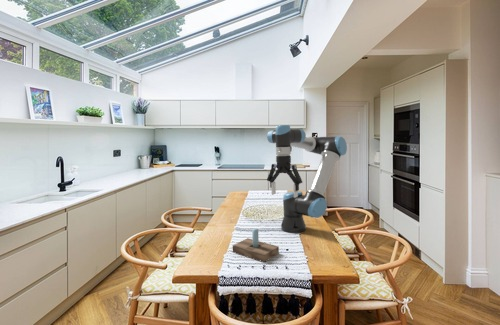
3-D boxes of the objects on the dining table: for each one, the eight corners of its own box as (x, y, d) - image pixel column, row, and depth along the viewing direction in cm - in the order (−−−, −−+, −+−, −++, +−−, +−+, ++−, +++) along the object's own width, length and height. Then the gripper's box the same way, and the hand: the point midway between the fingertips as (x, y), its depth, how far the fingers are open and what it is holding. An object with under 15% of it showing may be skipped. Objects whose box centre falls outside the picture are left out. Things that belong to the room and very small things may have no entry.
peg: (255, 251, 141) (254, 228, 140) (260, 252, 139) (259, 229, 138) (251, 253, 139) (250, 229, 138) (256, 254, 137) (255, 230, 136)
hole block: (247, 244, 150) (247, 238, 150) (278, 253, 137) (278, 246, 137) (232, 252, 141) (232, 245, 141) (264, 262, 128) (264, 255, 128)
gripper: (259, 155, 148) (261, 194, 150) (301, 156, 133) (302, 199, 135) (268, 154, 154) (269, 191, 156) (308, 155, 138) (309, 196, 140)
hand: (284, 195), depth 145 cm, fingers open, 13 cm apart
